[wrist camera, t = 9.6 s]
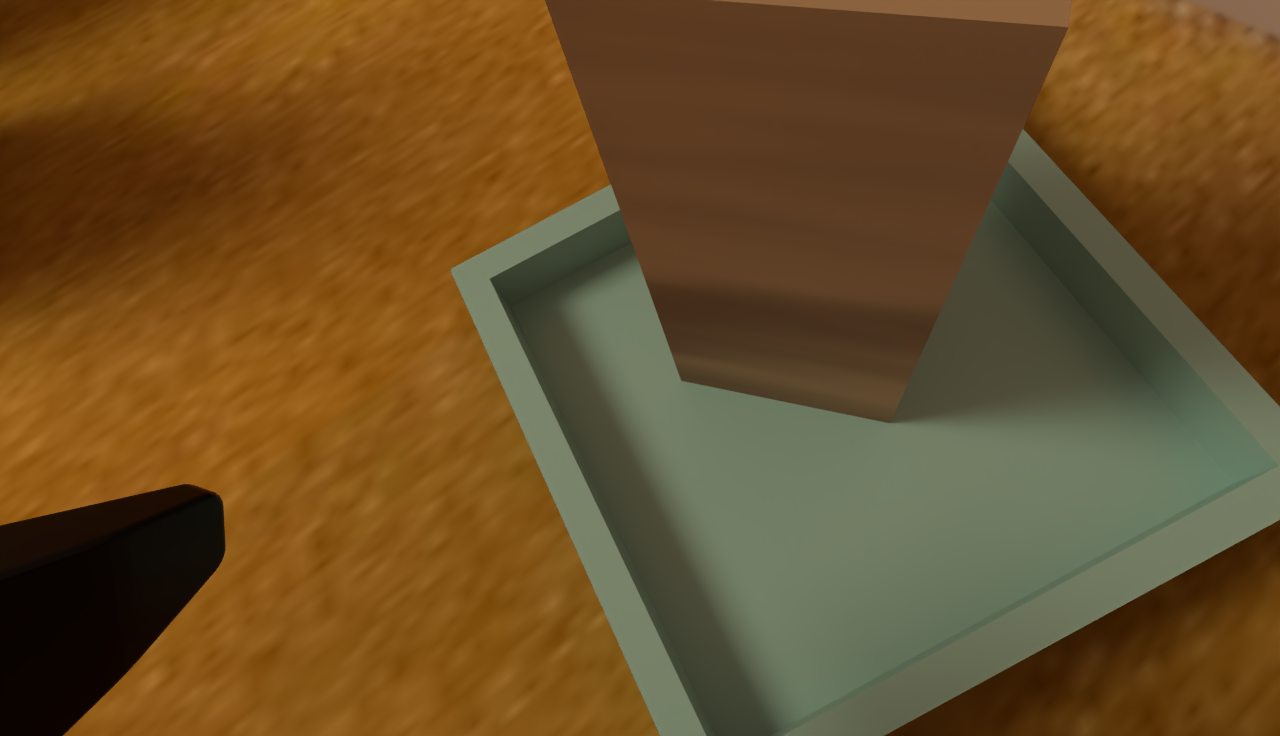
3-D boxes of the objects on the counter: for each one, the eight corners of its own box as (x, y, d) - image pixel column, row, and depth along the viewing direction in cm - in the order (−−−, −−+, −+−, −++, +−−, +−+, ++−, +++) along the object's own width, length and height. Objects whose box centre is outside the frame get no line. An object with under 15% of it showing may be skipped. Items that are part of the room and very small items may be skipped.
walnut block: (889, 423, 18) (1068, 27, 7) (680, 380, 19) (540, -13, 8) (923, 236, 19) (1114, -341, 8) (727, 208, 20) (664, -325, 9)
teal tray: (1278, 504, 16) (1349, 482, 14) (714, 812, 16) (704, 834, 14) (909, 79, 22) (922, 19, 20) (481, 306, 21) (450, 269, 19)
